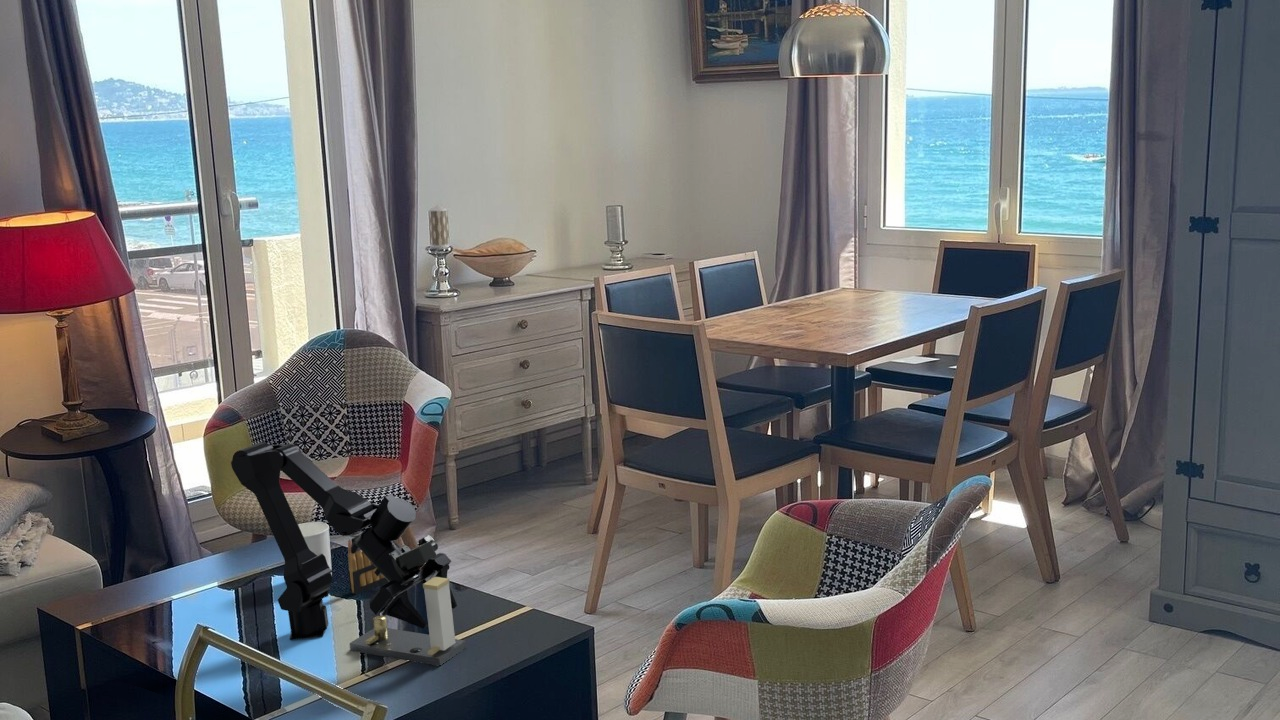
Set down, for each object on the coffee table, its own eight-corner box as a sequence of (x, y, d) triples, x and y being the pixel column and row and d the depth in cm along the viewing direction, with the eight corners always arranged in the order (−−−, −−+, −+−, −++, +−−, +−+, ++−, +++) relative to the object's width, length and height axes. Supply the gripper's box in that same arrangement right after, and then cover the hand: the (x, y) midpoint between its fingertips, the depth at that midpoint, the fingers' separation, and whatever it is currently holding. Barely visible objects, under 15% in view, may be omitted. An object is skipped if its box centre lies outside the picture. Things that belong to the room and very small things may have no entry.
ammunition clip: (355, 595, 253) (348, 541, 251) (350, 593, 254) (343, 540, 252) (395, 578, 261) (389, 526, 259) (390, 576, 262) (384, 525, 260)
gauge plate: (350, 650, 225) (346, 623, 224) (377, 633, 232) (374, 607, 231) (440, 666, 216) (437, 638, 215) (465, 648, 223) (462, 620, 222)
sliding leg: (423, 654, 217) (415, 588, 215) (442, 641, 222) (435, 576, 220) (437, 656, 216) (429, 590, 213) (456, 643, 221) (449, 578, 218)
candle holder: (328, 587, 258) (321, 535, 256) (284, 590, 259) (276, 538, 256) (340, 571, 268) (334, 520, 266) (297, 573, 268) (290, 523, 266)
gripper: (373, 545, 210) (431, 611, 207) (437, 511, 226) (491, 572, 223) (345, 582, 215) (400, 647, 212) (409, 547, 231) (461, 607, 228)
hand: (440, 617), depth 219 cm, fingers open, 9 cm apart
